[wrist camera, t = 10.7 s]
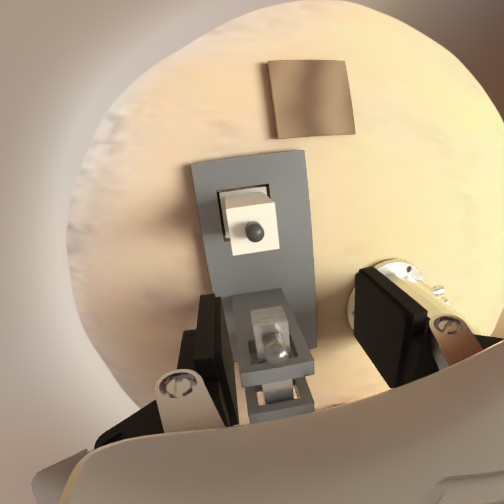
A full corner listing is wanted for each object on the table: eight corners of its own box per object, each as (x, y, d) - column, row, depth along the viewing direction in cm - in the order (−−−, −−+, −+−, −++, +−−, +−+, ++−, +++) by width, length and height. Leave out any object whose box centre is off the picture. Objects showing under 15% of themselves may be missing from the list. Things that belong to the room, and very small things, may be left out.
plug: (264, 185, 33) (283, 197, 23) (269, 228, 34) (289, 259, 25) (219, 191, 33) (218, 207, 23) (225, 235, 34) (228, 268, 24)
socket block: (300, 150, 32) (361, 147, 17) (313, 341, 40) (353, 422, 25) (192, 163, 31) (167, 169, 17) (227, 356, 39) (233, 446, 25)
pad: (341, 63, 29) (344, 60, 28) (352, 134, 32) (355, 134, 31) (266, 63, 29) (268, 61, 28) (277, 139, 31) (278, 138, 30)
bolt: (281, 305, 25) (295, 339, 20) (293, 452, 31) (301, 482, 27) (250, 310, 24) (257, 345, 20) (272, 455, 31) (278, 486, 27)
